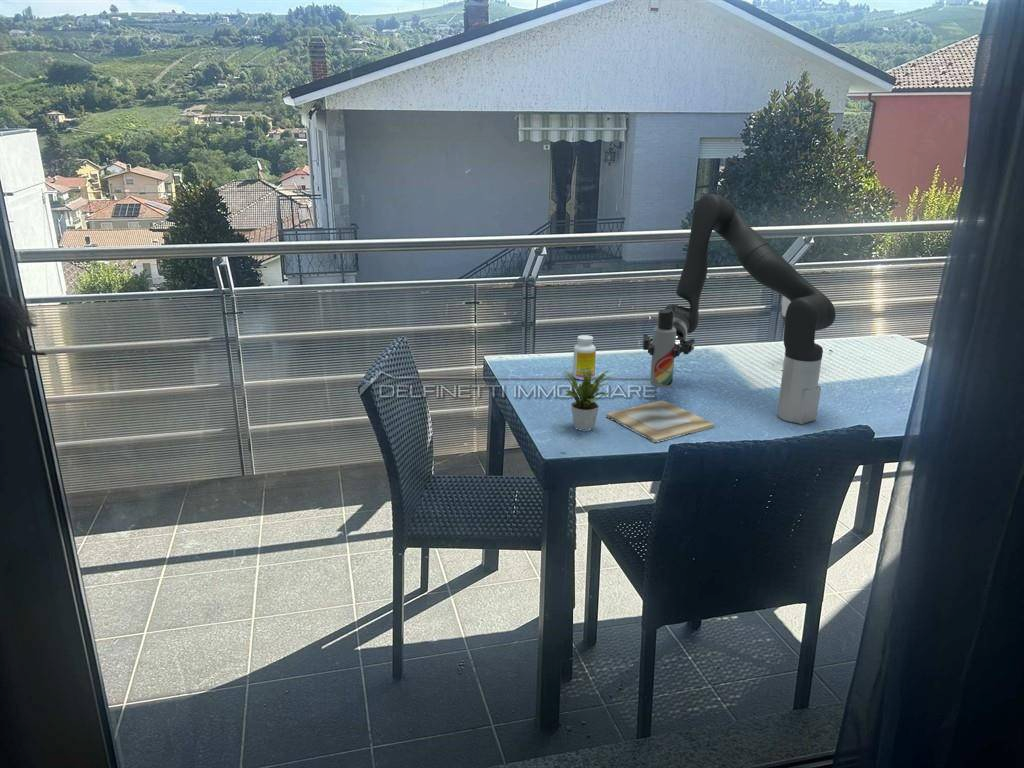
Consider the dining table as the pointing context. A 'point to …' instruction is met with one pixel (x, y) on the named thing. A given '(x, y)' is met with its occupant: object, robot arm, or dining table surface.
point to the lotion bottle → (663, 350)
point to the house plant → (585, 400)
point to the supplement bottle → (584, 357)
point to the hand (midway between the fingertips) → (663, 352)
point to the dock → (660, 420)
